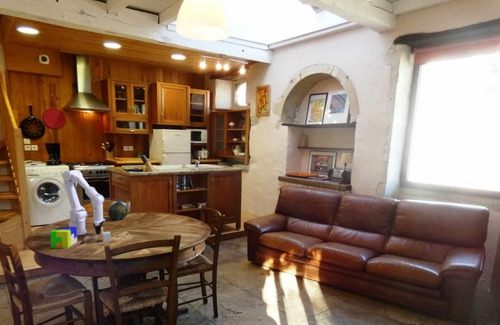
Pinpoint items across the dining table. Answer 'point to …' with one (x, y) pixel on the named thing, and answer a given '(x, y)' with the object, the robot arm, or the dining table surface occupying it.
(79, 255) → the dining table surface
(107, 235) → the light grey block
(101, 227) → the peach block
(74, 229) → the puzzle toy
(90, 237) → the wood slab
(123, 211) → the squash
